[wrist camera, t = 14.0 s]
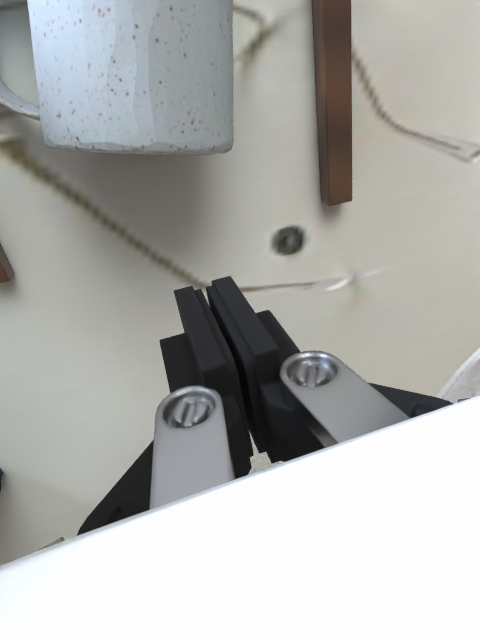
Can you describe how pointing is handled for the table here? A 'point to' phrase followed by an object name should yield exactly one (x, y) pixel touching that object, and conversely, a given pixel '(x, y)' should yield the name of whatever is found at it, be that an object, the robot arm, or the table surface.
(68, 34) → the ceramic mug
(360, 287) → the table surface
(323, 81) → the walnut frame
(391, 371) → the table surface
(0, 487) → the vhs cassette tape
